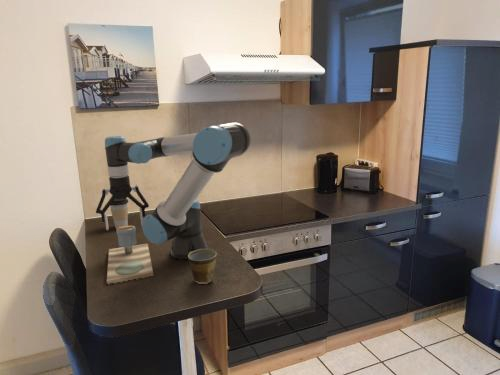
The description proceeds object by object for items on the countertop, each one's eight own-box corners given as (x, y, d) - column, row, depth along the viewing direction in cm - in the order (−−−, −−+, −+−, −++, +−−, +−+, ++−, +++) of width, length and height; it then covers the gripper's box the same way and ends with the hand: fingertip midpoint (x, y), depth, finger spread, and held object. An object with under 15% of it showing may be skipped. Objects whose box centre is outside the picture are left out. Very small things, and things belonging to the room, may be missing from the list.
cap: (136, 239, 163) (134, 222, 161) (137, 245, 156) (135, 228, 154) (118, 241, 161) (116, 225, 159) (118, 248, 154) (116, 231, 152)
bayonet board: (109, 252, 164) (106, 229, 161) (148, 246, 168) (145, 224, 166) (107, 284, 136) (103, 257, 133) (153, 276, 141) (150, 249, 138)
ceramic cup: (224, 279, 136) (222, 253, 134) (203, 290, 129) (200, 263, 127) (200, 269, 145) (198, 244, 142) (178, 279, 138) (176, 253, 135)
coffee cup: (107, 229, 193) (103, 200, 189) (122, 223, 201) (118, 195, 197) (121, 231, 188) (117, 202, 185) (135, 225, 196) (132, 197, 193)
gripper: (150, 171, 158) (155, 219, 164) (85, 176, 151) (92, 227, 156) (152, 174, 152) (157, 225, 157) (84, 181, 144) (91, 234, 150)
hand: (125, 226), depth 157 cm, fingers open, 13 cm apart
